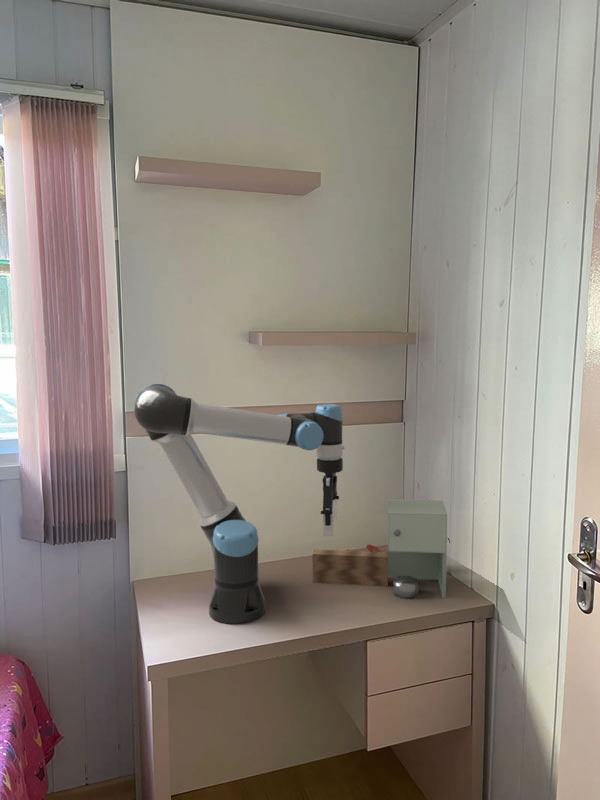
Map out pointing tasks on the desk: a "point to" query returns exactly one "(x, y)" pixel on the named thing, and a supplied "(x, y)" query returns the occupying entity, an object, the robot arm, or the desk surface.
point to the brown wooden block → (350, 567)
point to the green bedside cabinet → (417, 540)
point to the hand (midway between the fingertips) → (330, 528)
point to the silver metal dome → (405, 587)
